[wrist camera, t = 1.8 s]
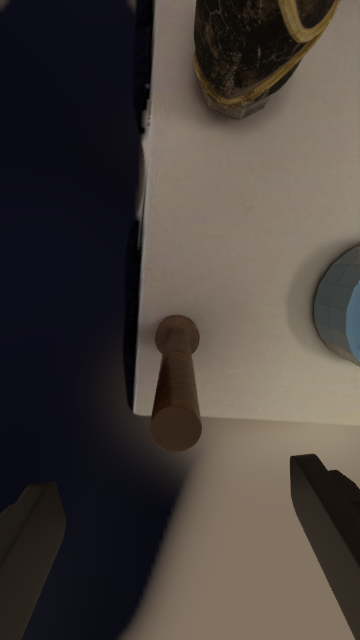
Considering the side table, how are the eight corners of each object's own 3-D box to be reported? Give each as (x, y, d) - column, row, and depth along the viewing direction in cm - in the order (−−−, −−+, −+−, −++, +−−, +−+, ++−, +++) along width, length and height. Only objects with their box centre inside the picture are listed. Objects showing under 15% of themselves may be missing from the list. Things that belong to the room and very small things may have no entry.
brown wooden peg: (153, 317, 26) (119, 392, 11) (196, 312, 26) (219, 380, 11) (159, 357, 27) (136, 475, 12) (200, 353, 27) (227, 465, 12)
